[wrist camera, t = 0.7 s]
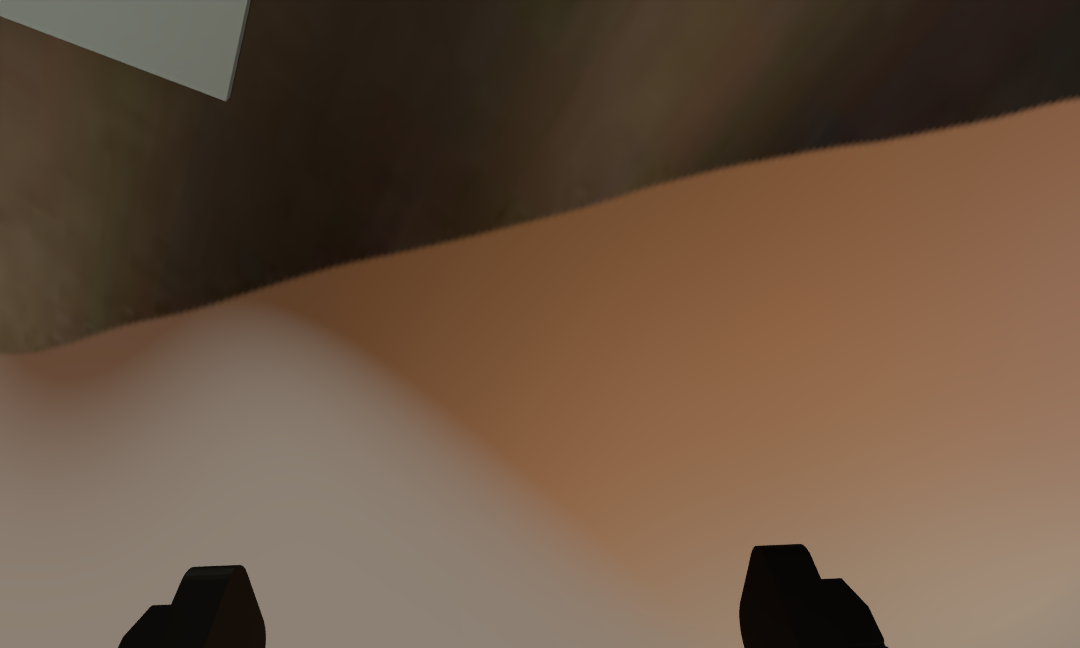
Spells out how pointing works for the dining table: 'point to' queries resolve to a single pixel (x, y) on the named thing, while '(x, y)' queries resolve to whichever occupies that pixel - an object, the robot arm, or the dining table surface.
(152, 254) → the dining table surface
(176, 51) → the mat
